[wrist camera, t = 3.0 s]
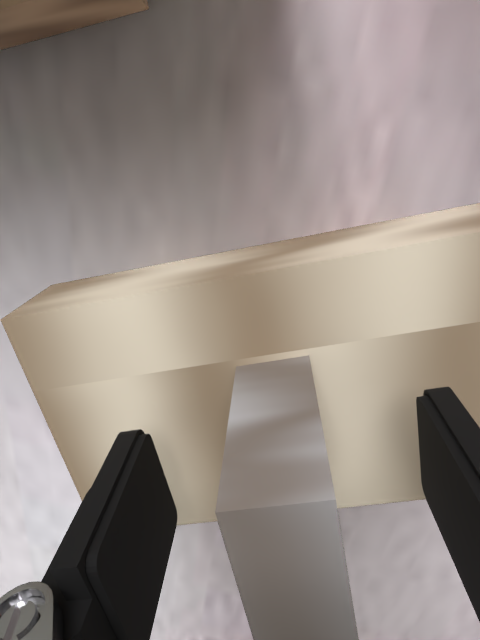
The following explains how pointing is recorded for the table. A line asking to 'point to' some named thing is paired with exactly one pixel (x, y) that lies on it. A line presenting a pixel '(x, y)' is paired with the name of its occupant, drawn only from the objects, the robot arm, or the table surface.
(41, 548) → the table surface
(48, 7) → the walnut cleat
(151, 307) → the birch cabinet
